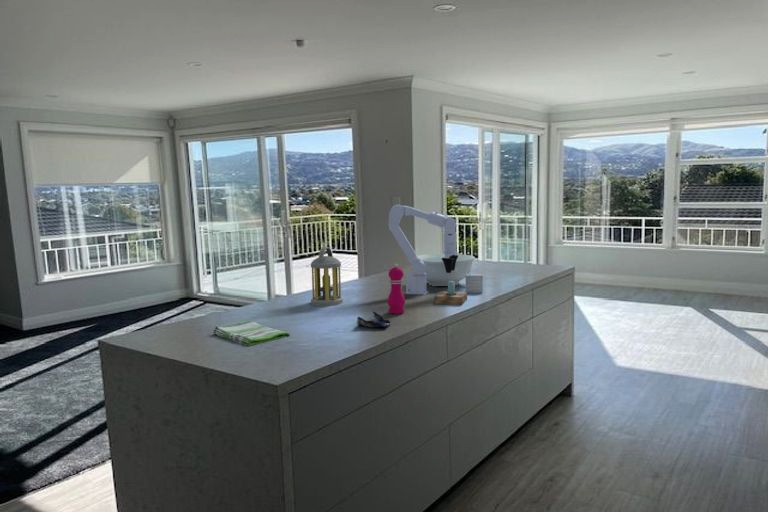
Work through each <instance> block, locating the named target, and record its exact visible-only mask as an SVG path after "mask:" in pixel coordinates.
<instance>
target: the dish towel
mask: <svg viewBox="0 0 768 512" xmlns="http://www.w3.org/2000/svg"><path fill="white" fill-rule="evenodd" d="M212 333H213V334H214V335H215V336H218V337H221V338H224V339H227V340H229V341H230V340H231V341H232V342H233V341H234V342H236V343H239V344H242V345H245V346H249V347H250V346H254V345H255V346H256V345H259V344H264V343H267V342H271V341H275V340H279V339H284V338H288V337H290V336H291V335H290V333H289V332H288V331H283V330H279V329H275V328H271V327H268V326H265V325H262V324H259V323H257V322H255V321H253V320H245V321H238V322H235V323H229V324H223V325H215V327H214V330H213V331H212Z"/></svg>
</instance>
